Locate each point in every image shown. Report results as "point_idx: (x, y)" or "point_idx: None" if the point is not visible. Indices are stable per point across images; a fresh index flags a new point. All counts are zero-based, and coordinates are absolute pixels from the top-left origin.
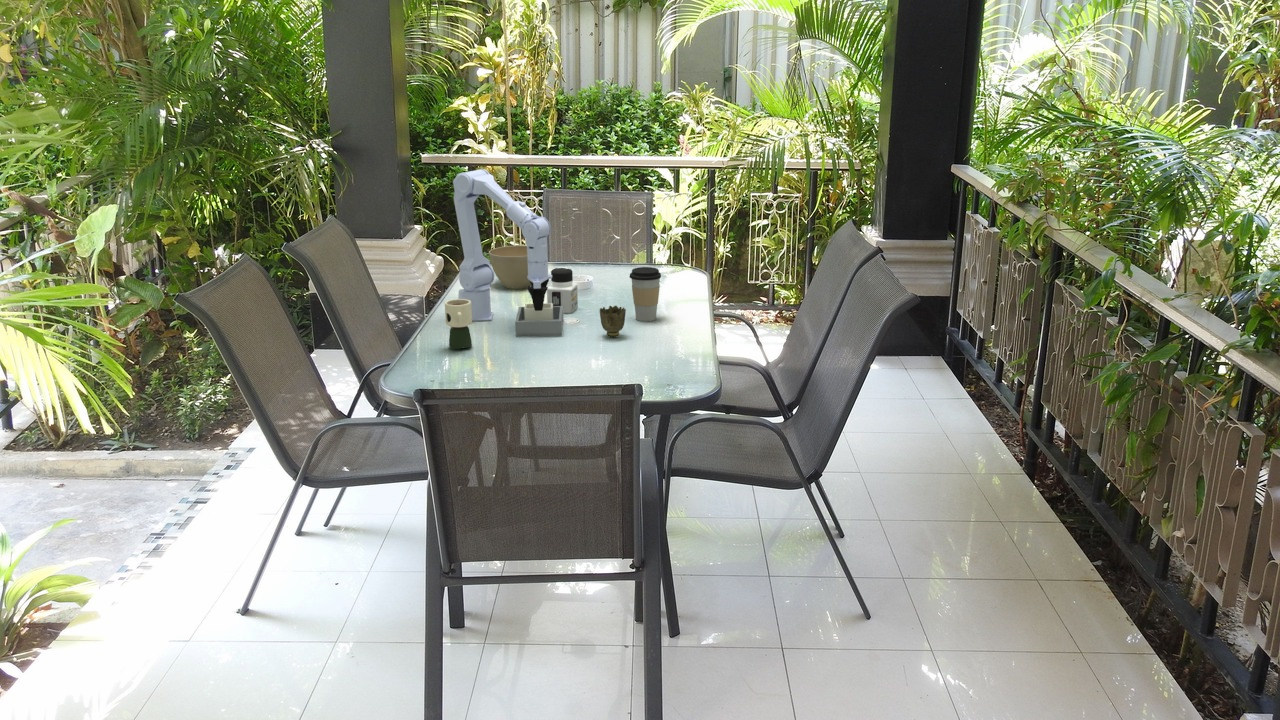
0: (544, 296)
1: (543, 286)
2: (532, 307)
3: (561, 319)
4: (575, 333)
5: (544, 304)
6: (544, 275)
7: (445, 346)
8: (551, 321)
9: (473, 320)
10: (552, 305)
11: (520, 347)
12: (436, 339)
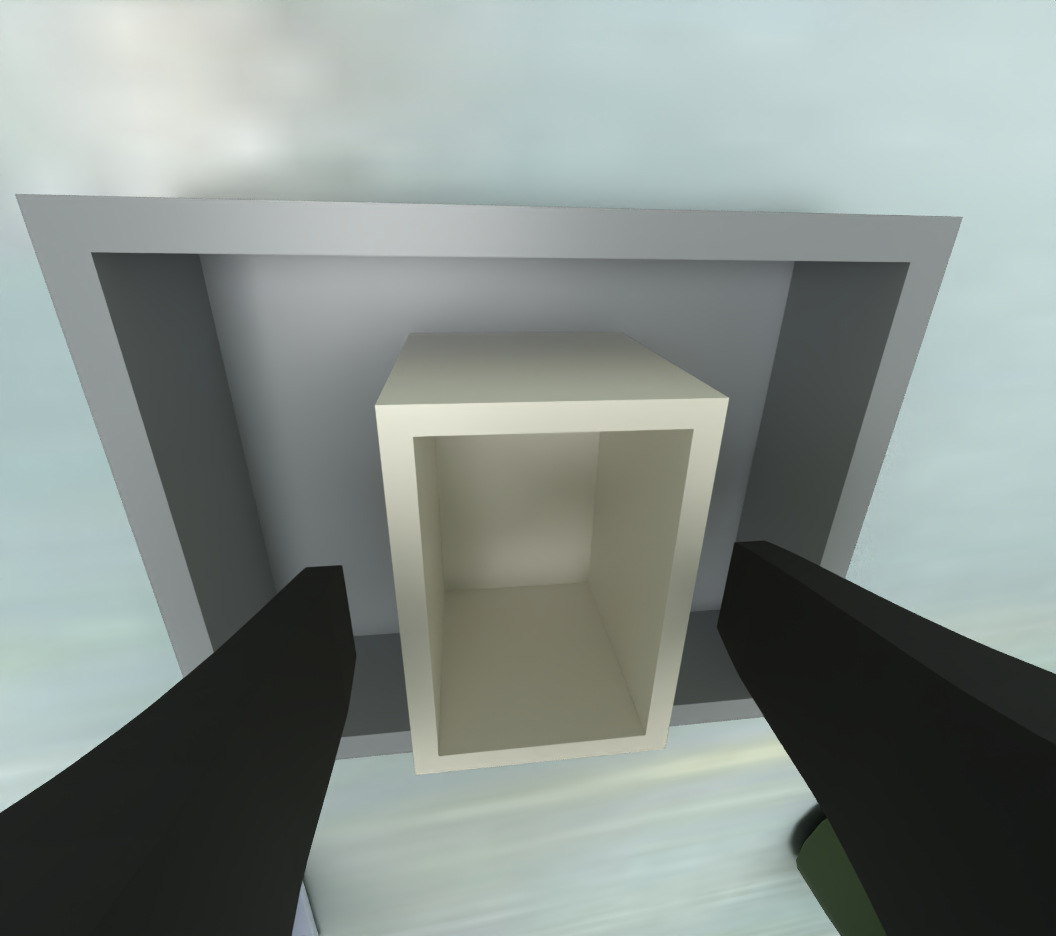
0: (300, 631)
1: (180, 917)
2: (437, 662)
3: (889, 216)
4: (748, 37)
5: (421, 541)
6: None
7: (795, 880)
8: (911, 364)
9: (305, 894)
10: (534, 404)
11: (979, 551)
12: (666, 932)
